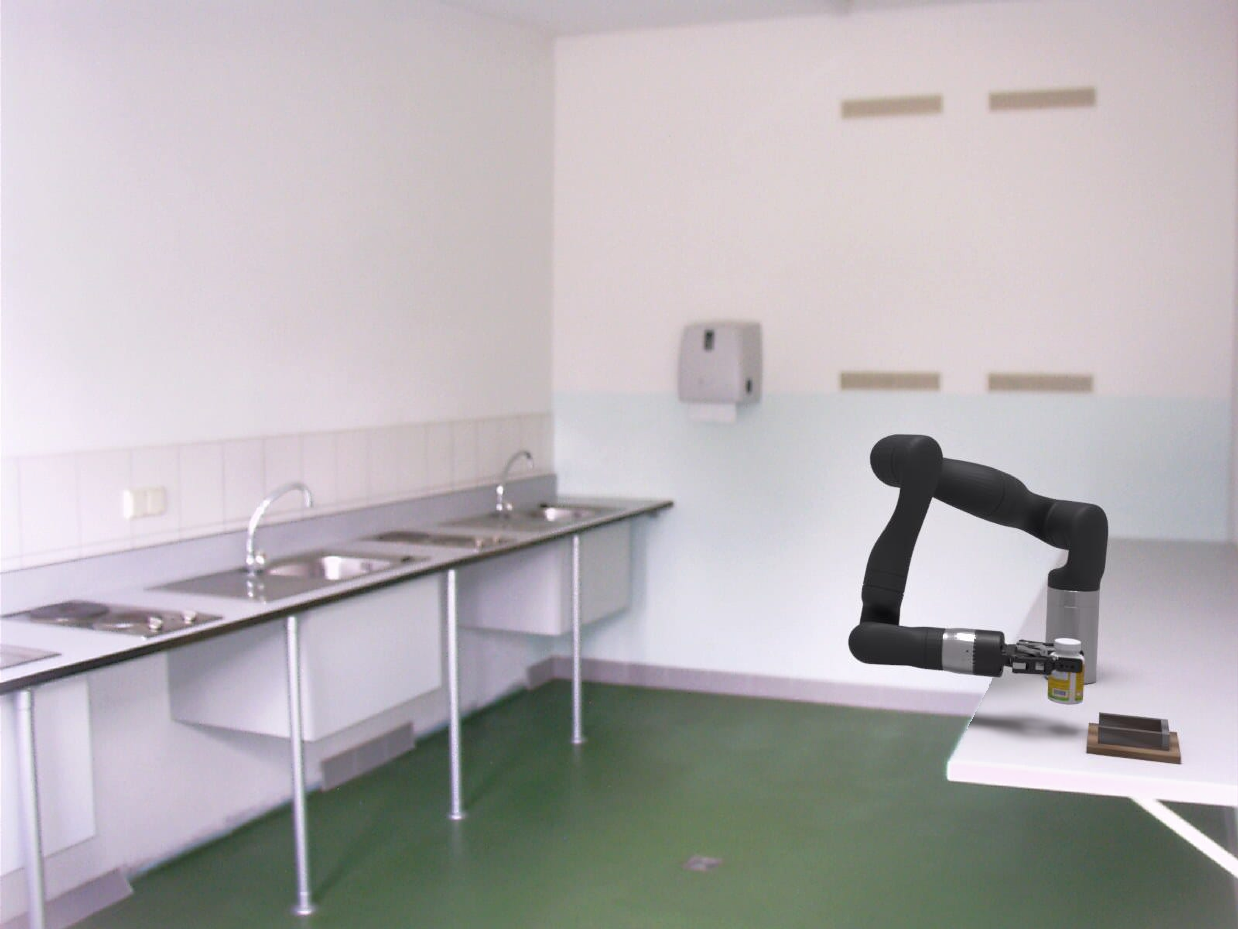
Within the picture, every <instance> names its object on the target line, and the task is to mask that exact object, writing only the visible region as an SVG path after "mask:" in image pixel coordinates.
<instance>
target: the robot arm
mask: <svg viewBox="0 0 1238 929" xmlns="http://www.w3.org/2000/svg"><path fill="white" fill-rule="evenodd" d="M869 464H870V468H871V470H872V473H873V474H874V476H875V477H876V478H877V479H878V480H879V481H880V482H881V483H882V484H885V485H887V486H888V487H891V488H892V487H893V488H897V489H899V492H898V493H899V494H898V498H897V502H896V506H895V508H894V511H893V513H892V515H891V517H890V518H889V520H888V522H887V524H886V526H885V527H884V529H883V531H882V532H881V533H880V535H879V537H877V540H876V541H875V543H874V545H873V547H872V548H871V551H870V553H869V556H868V559H867V562H866V565H865V566H866V567H865V571H864V572H865V573H864V576H863V582H862V587H861V591H860V592H861V593H860V594H861V596H860V597H861V602H862V606H861V607H862V608H861V613H860V619H859V622H858V624H857V625H856V626H855V627H854V628H853V629H852V630H851V631H850V633H849V635H848V641H847V645H848V649H849V652H850V654H851V655H852V656H853V657H854V658H855V660H857V661H859V662H860V663H862V664H865V665H876V666H877V665H878V666H880V665H881V666H882V665H883V666H902V667H904V666H906V667H912V668H917V669H921V670H922V669H923V670H928V671H929V670H931V671H941V672H942V671H944V672H949V673H953V674H957V675H965V676H966V675H968V676H976V677H977V676H978V677H979V676H980V677H988V678H999V679H1000V678H1001V677H1002V676H1003V674H1004V669H1005V668H1004V667H1008V668H1011V673H1013V674H1016V675H1017V674H1022V675H1023V674H1024V675H1042V676H1043V677H1044V678H1046V679H1048V675H1051V674H1052V673H1055V672H1057V671H1060V672H1071V673H1081V672H1082V670H1083V660H1082V659H1080V658H1068V657H1058V659H1057V656H1054V655H1050V654H1051V653H1053V652H1055V651H1056V650H1055V649H1054V642H1055V639H1059V638H1068V639H1075V640H1078V641H1080V642H1081V651H1080V652H1079V654H1081V655H1082V656H1083V657H1084V659H1085V669H1084V685H1085V684H1086V685H1087V684H1091V683H1094V682H1096V681H1097V669H1098V666H1097V665H1098V644H1099V641H1098V640H1099V622H1100V621H1099V620H1100V600H1101V599H1100V593H1101V592H1100V591H1101V581H1102V578H1103V577H1104V574H1105V570H1106V561H1107V554H1108V553H1107V551H1108V541H1109V520H1108V517H1107V513H1106V512H1105V510H1104V509H1103V507H1101V506H1100V505H1097V504H1095V503H1088V502H1082V501H1075V500H1068V499H1056V498H1052V497H1048V496H1045V495H1044V496H1043V495H1041V494H1037V493H1035V492H1033V491H1031V490H1030V489H1028V487H1027V485H1025V483H1024V482H1023V481H1022V480H1020V479H1019V478H1017V477H1015V476H1013V475H1012V474H1010V473H1007V472H1005V471H1002V470H1001V469H998V468H995V467H993V466H988V465H985V464H982V463H981V464H980V463H976V462H971V461H967V460H961V459H960V460H959V459H954V458H950V457H944V455H943V451H942V448H941V445H940V443H938V441H937V440H936V439H935V438H933V437H932V436H930V435H925V434H908V433H907V434H906V433H904V434H901V433H895V434H894V433H893V434H891V435H887V436H885V437H882V438H881V439H879V440H878V441H877V442H876V443H875V444H874V445H873V446H872V449H871V451H870V453H869ZM932 499H936V500H938V501H939V502H942V503H944V504H946V505H949V507H950V506H951V507H952V508H954V509H957V510H959V511H962V512H964V513H966V514H969V515H971V516H973V517H976V518H978V519H981V520H984V521H987V522H988V523H989V522H990V523H993V524H997V525H999V526H1003V527H1008V528H1012V529H1016V530H1020V531H1022V532H1025V533H1027V534H1029V535H1031V536H1032V537H1034V538H1036V539H1037V540H1040V541H1041V542H1043V543H1045V544H1047V545H1049V546H1051V547H1053V548H1055V549H1060V550H1064V551H1068V552H1067V559H1066V562H1065V563H1064V565H1062V566H1060V567H1058V568H1053V569H1051V570H1049V572H1048V574H1047V583H1046V584H1047V589H1046V590H1047V591H1046V592H1047V593H1046V616H1045V617H1046V618H1045V638H1044V639H1045V640H1044V642H1043V641H1034V640H1026V639H1024V638H1023V639H1018V641H1016V643H1009V644H1007V643H1006V641H1005V640H1006V638H1005V633H1004V632H1003V631H1001V630H989V629H979V628H965V627H953V628H952V627H951V628H949V627H947V628H946V627H937V626H936V627H934V626H907V625H906V626H905V625H900V619H901V607H902V603H903V600H904V596H905V590H906V586H907V582H908V576H909V572H910V571H909V570H910V565H911V562H912V558H913V554H914V551H915V547H916V544H917V542H918V537H919V536H920V533H921V530H922V527H923V524H924V521H925V518H926V516H927V513H928V512H929V508H930V506H931V503H932Z"/></svg>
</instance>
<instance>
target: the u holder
mask: <svg viewBox="0 0 1238 929" xmlns="http://www.w3.org/2000/svg"><path fill="white" fill-rule="evenodd" d="M1086 754H1092V755H1099V756H1100V755H1101V756H1107V757H1109V756H1110V757H1117V758H1126V759H1127V758H1128V759H1135V760H1143V761H1151V762H1161V763H1168V764H1170V763H1171V764H1178V765H1181V763H1182V754H1181V750H1180V742H1179V737H1178V732H1177V731H1170V726H1169V719H1166V718H1159V717H1157V718H1156V717H1150V716H1149V717H1148V716H1139V715H1138V716H1137V715H1128V714H1127V715H1126V714H1120V713H1107V712H1100V711H1099V712H1098V723H1095V722H1088V727H1087V740H1086Z"/></svg>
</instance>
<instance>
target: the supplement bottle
mask: <svg viewBox="0 0 1238 929" xmlns="http://www.w3.org/2000/svg"><path fill="white" fill-rule="evenodd" d="M1054 649H1055V650H1056V651H1055V652H1053V653H1051V654H1050V655H1054V656H1057V659H1058V657H1068V658H1080V659H1082V660H1083V670H1082V672H1081V673H1071V672H1060V671H1057V672H1055V673H1052V674H1051V675H1048V678H1047V682H1048V683H1047V699H1048V700H1049V701H1050V702H1053V703H1056V704H1060V705H1067V706H1068V705H1078V704H1082V703H1083V701H1084V689H1085V688H1084V685H1085V684H1084V669H1085V659H1084V657H1083V656H1082V655H1081V654H1079V652H1080V651H1081V642H1080V641H1078V640H1075V639H1068V638H1059V639H1055V642H1054Z"/></svg>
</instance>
